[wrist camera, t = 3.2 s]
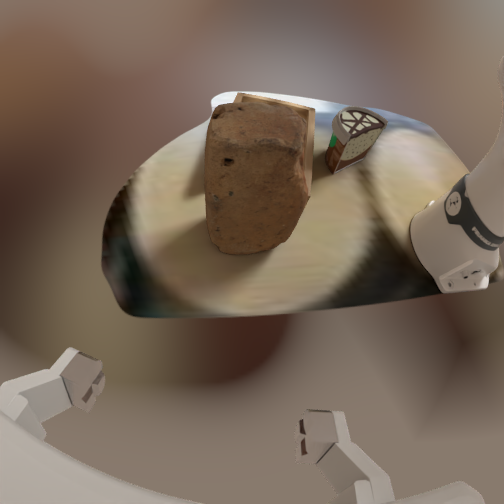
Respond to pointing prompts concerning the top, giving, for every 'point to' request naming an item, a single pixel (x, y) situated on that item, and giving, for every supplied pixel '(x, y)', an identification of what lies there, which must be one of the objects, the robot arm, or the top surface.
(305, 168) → the wooden tray
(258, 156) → the block
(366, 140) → the food container
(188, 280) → the top surface
